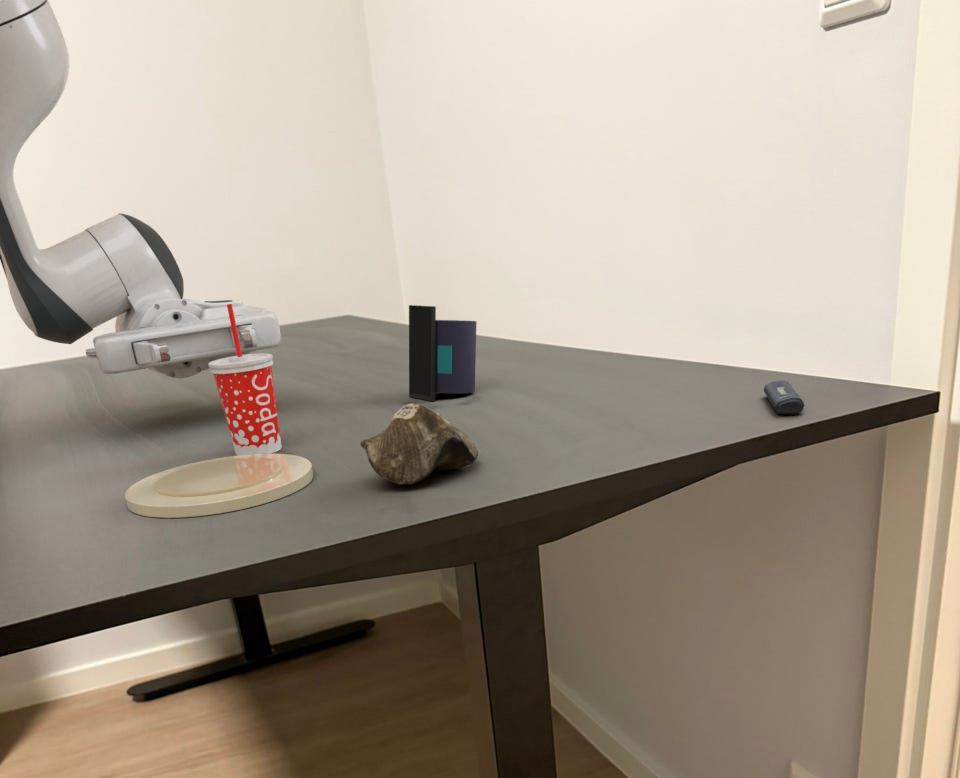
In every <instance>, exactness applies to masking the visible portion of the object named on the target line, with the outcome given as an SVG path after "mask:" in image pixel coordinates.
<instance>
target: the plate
mask: <svg viewBox="0 0 960 778" xmlns="http://www.w3.org/2000/svg"><path fill="white" fill-rule="evenodd" d="M313 479H314V469H313V464H312V463H311V461H310V460H309V459H308V458H306V457H303V456H299V455H294V454H288V453H271V454H249V455H238V456H237V455H230V456H224V457H223V456H222V457H217V458H211V459H210V458H209V459H206V460H200V461H196V462H195V461H194V462H191V463H187V464H183V465H179V466H176V467H171V468H168V469H166V470H162V471H160V472H156V473H154V474H152V475H149V476H147V477H144V478H142V479H141V480H139V481H137V482H135V483H134V484H132V485H131V486H129V487H128V488H127V489H126V490H125V492H124V498H125V502H126V507H127V508H128V510H129V511H130V512H132V513H134V514H136V515H139V516H142V517H148V518H160V519H180V518H181V519H183V518H196V517H204V516H206V517H207V516H213V515H220V514H225V513H231V512H237V511H240V510H245V509H250V508H254V507H258V506H260V505H261V506H262V505H265V504H268V503H271V502H274V501H278V500H281V499H283V498H286V497H288V496H290V495H292V494H294V493H297V492H298V491H300V490H302V489H304V488H305V487H306V486H308V485H309V484H310V483H311V482H312V481H313Z"/></svg>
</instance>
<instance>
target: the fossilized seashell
mask: <svg viewBox="0 0 960 778" xmlns="http://www.w3.org/2000/svg"><path fill="white" fill-rule="evenodd" d="M360 447H361V448H362V449H364V450H365V452H366V455H367V460H368V462H369V464H370V466H371V468H372V469H373V470H374V472H375V473H376V474H377V475H378V476H379V477H381V478H383V479H385V480H387V481H388V482H391V483H393V484H395V485H413V484H416V483H418V482H420V481H422V480H425V478H428V477H429V476H430V475H431V474H432V472H434V471H448V470H455V469H463V468H465V467H468V466H470V465H472V464H473V463H474V462H475V461H476V460H477V459H478V456H479V451H478V450H477V447H476V444H475V442H473V440H472V438H470V436H469V435H467V434H466V432H463V431H462V430H460V429H459V428H457V427H456V426H454V425H453V424H452V422H450V421H449V420H448V419H447V418H446V416H445V414H444V413H442V412H439V411H434V410H433V409H431V408H430V407H428V406H425V405H421V404H419V403H408V404H405V405H403V406H402V407H401V408H400V409H399V410H398V411H396V412H395V413H394V414H393V417H392V418H391V420H390V423H389V424H388V426H387V427H386V428H385V429H384V430H383V431H382V432H381V433H379V434H377V435H374V436H372V437H369V438H367V439H362V440H361V441H360Z"/></svg>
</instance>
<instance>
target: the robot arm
mask: <svg viewBox="0 0 960 778" xmlns="http://www.w3.org/2000/svg"><path fill="white" fill-rule="evenodd" d="M69 72H70V54H69V50H68V46H67V43H66V39H65V37H64V35H63V32H62V28H61V27H60V24H59V22H58V20H57V17H56V15H55V13H54V10H53V9H52V6H51V4H50V2H49V0H0V264H1V266H2V269H3V272H4V275H5V279H6V281H7V286H8V290H9V294H10V297H11V301H12V303H13V306H14V308H15V310H16V312H17V314H18V316H19V317H20V319H21V320H22V321H23V323H24V325H25V326H26V327H27V328H28V329H29V330H30V331H31V332H32V333H33V334H34V336H36V337H37V338H39V339H42V340H45V341H49V342H53V343H58V344H63V345H72V344H73V343H75V342H77V341H78V340H80V339H82V338H83V337H85V336H86V335H88V334H89V333H91V332H93V331H94V329H95V328H98V327H99V326H101V325H103V324H105V323H106V322H107V323H108V321H111V320H112V319H115V323H114V329H115V332H109V333H104V334H101V335H97V336H95V337H93V339H92V343H93V347H91V348H87V349H86V350H85V355H86V357H87V358H89V359H97V363H98V367H99V370H100V371H101V372H102V374H105V375H115V374H122V373H128V372H134V371H140V370H146V369H149V370H150V371H151V370H152V371H154V372H156V373H158V374H161V375H164V376H167V377H170V378H175V379H185V378H186V379H187V378H190V377H193V376H196V375H198V374H200V373H201V372H203V371H207V370H210V367H209V366H208V363H210V362H212V361H215V360H218V359H222V358H227V357H232V356H237V353H236V348H235V343H234V338H233V333H232V328H231V323H230V318H229V313H228V308H227V304H232V307H233V312H234V317H235V322H236V327H237V332H238V337H239V342H240V347H241V352H242V355H247V354H254V353H253V352H255V351H260V350H267V349H273V348H274V349H275V348H277V347H279V346H281V344H282V332H281V327H280V323H279V319H278V315H277V314H276V313H275V312H274V311H273V310H269V309H266V308H262V307H257V306H252V305H251V306H249V305H244V301H243V300H240V299H233V300H232V299H226V300H205V301H199V300H196V299H195V300H194V299H190V298H184V291H185V287H184V286H185V285H184V277H183V274H182V272H181V270H180V267H179V265H178V263H177V260H176V258H175V256H174V254H173V253H172V251H171V250H170V247H169V246H168V245H167V243H166V242H165V240H164V239H163V237H162V236H161V235H160V234H159V233H158V232H157V231H156V230H155V229H154V228H153V227H152V226H150V225H149V224H147V223H145V222H144V221H142V220H140V219H138V218H136V217H134V216H132V215H129V214H125V213H122V212H121V213H118V214H115V215H112V216H110V217H109V218H107V219H104V220H102V221H100V222H97V223H96V224H94V225H92V226H89V227H87V228H85V229H84V230H83V231H81V232H78V233H77V234H75V235H72V236H70V237H67V238H66V239H64V240H61V241H59V242H57V243H55V244H54V245H53V244H52V245H51V246H49V247H46V248H39V247H38V245H37V242H36V240H35V237H34V233H33V231H32V230H31V226H30V223H29V221H28V218H27V215H26V212H25V209H24V207H23V204H22V201H21V199H20V196H19V193H18V191H17V187H16V183H15V177H14V169H15V168H14V167H15V164H16V160H17V158H18V155H19V153H20V152H21V150H22V147H23V146H24V145H25V144H26V142H27V141H28V139H29V138H30V137H31V136H32V134H33V133H34V132H35V131H36V129H37V128H38V127H39V126H40V125H41V124H42V123H43V122H44V121H45V120H46V118H47V117H48V116H49V115H50V114H51V113H52V111H53V110H54V109H55V108H56V106H57V104H58V103H59V101H60V99H61V98H62V96H63V93H64V91H65V89H66V86H67V84H68V83H67V82H68V79H69V78H68V77H69Z"/></svg>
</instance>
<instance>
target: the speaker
mask: <svg viewBox="0 0 960 778" xmlns="http://www.w3.org/2000/svg"><path fill="white" fill-rule="evenodd" d="M436 307H437V306H432V305H415V304H409V305H408V397H409V398H414V399H420V400H425V401H430V402H435V401H436V394H472V393H475V392H476V357H477V356H476V355H477V353H476V352H477V321H475V320H459V319H437V318H436V316H437V314H436V313H437V309H436Z"/></svg>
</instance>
